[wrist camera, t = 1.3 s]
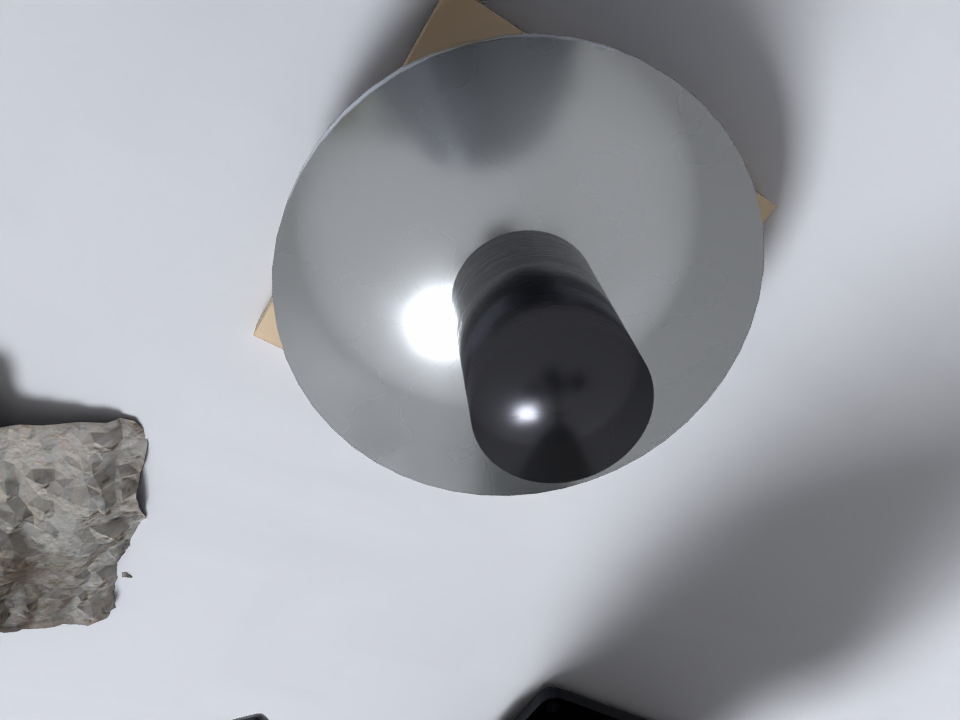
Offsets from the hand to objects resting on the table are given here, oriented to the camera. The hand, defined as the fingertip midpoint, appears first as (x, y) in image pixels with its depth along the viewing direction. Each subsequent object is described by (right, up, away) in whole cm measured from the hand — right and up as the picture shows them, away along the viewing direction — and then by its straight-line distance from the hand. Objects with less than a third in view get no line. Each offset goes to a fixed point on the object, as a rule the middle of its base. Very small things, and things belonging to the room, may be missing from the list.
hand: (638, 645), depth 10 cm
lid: (-1, +5, +10) cm, 11 cm away
